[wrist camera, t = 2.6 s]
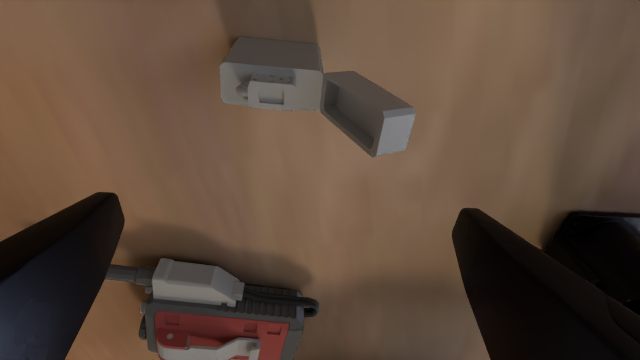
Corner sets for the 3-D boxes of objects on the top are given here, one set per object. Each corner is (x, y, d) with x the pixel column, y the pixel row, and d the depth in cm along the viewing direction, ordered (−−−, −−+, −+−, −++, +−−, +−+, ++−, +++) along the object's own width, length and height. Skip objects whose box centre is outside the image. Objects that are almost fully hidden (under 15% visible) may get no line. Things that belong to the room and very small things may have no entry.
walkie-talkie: (325, 272, 27) (42, 237, 24) (329, 324, 24) (-5, 291, 21) (303, 336, 32) (64, 314, 29) (303, 387, 28) (30, 368, 25)
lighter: (237, 71, 18) (199, 147, 12) (236, 36, 17) (194, 97, 11) (372, 83, 19) (408, 162, 12) (378, 50, 18) (421, 116, 11)
